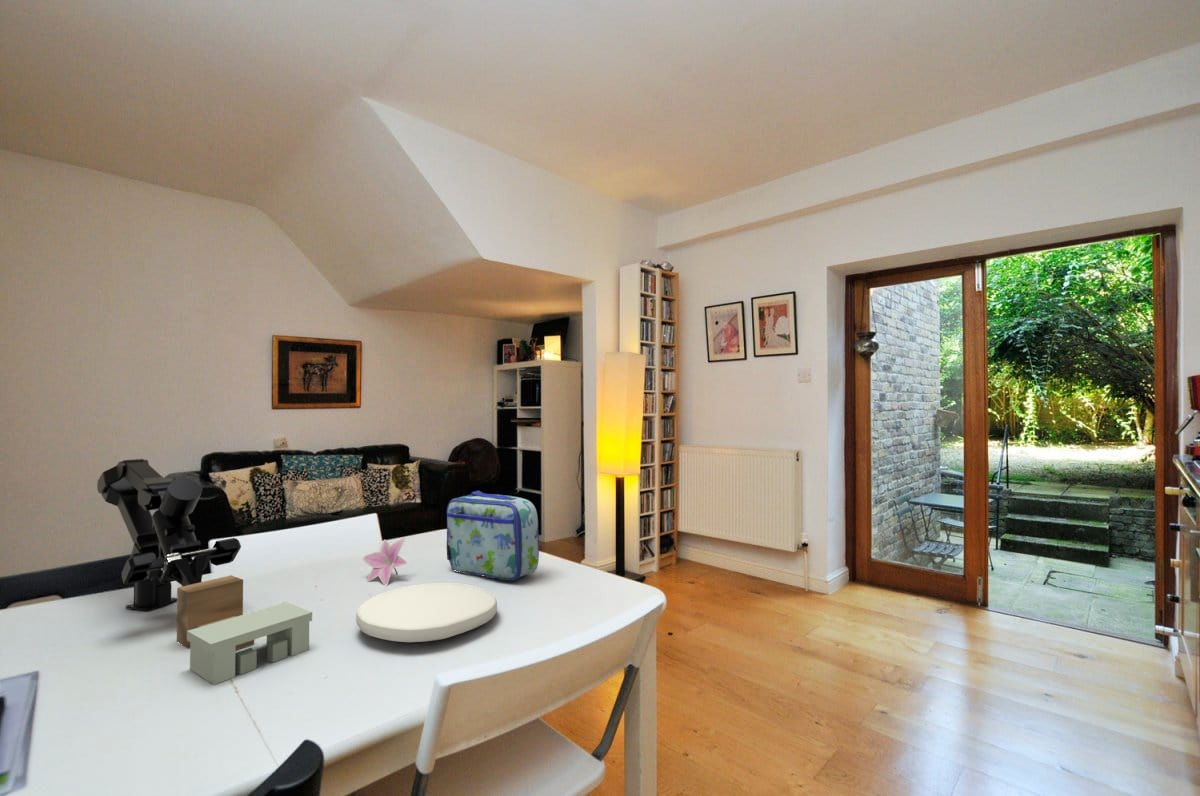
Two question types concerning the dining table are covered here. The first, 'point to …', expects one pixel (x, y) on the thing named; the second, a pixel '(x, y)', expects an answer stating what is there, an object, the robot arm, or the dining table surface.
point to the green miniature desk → (219, 639)
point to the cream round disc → (426, 612)
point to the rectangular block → (208, 605)
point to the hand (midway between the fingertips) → (196, 594)
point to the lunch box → (492, 535)
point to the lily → (385, 560)
